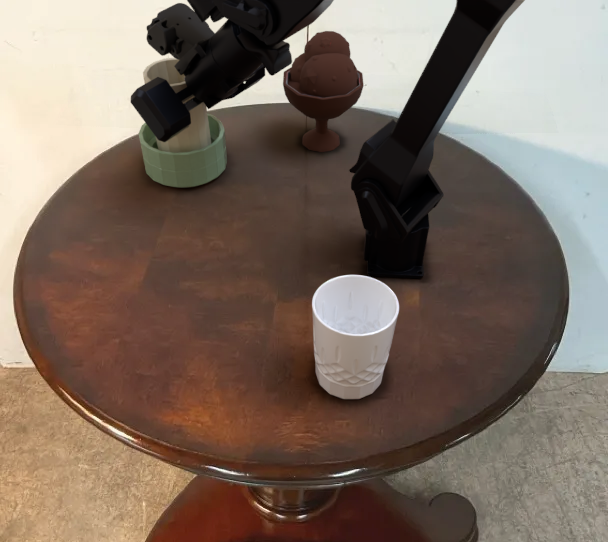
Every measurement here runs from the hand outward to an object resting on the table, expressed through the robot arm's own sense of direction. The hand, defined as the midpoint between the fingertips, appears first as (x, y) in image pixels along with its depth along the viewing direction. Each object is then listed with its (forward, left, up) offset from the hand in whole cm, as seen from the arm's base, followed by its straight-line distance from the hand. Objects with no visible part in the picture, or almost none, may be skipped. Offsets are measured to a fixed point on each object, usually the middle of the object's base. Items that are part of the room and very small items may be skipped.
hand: (171, 114), depth 90 cm
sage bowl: (-1, +1, -7) cm, 8 cm away
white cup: (-24, +36, -8) cm, 44 cm away
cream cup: (-1, +1, -7) cm, 7 cm away
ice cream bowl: (-19, -7, -8) cm, 22 cm away
